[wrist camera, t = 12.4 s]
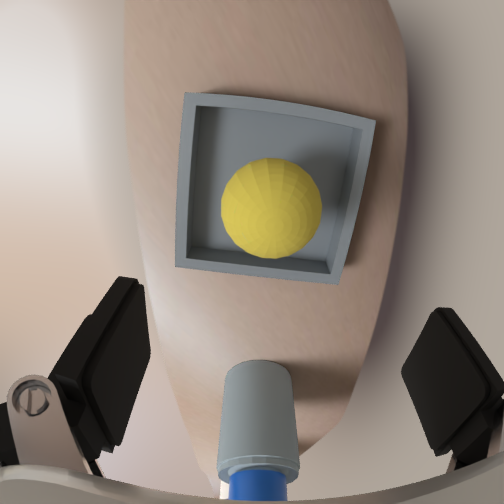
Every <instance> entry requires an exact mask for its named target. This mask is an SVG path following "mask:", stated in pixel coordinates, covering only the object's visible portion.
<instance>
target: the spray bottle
mask: <svg viewBox="0 0 504 504" xmlns="http://www.w3.org/2000/svg"><path fill="white" fill-rule="evenodd" d="M299 469H300V462H299V450H298V439H297V429H296V419H295V409H294V399H293V389H292V380H291V376H290V374H289V372H288V371H287V370H286V369H285V368H284V367H283V366H281V365H279V364H277V363H275V362H271V361H266V360H251V361H247V362H242V363H240V364H238V365H236V366H234V367H233V368H232V369H231V370H230V371H228V373H227V375H226V378H225V386H224V396H223V406H222V416H221V427H220V437H219V448H218V458H217V470H218V476H219V478H220V479H221V480H222V481H223V482H225V483H228V484H229V497H228V500H242V501H287V485H286V484H288V483H291V482H293V481H294V480H295V479H296V478H297V477H298V473H299V472H298V471H299Z"/></svg>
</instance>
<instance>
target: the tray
mask: <svg viewBox="0 0 504 504" xmlns="http://www.w3.org/2000/svg"><path fill="white" fill-rule="evenodd" d="M375 123H376V121H375V120H371V119H368V118H364V117H360V116H356V115H351V114H347V113H343V112H338V111H334V110H329V109H324V108H319V107H313V106H308V105H302V104H297V103H290V102H284V101H277V100H270V99H262V98H254V97H245V96H234V95H222V94H208V93H186V92H185V94H184V103H183V113H182V123H181V135H180V148H179V162H178V178H177V199H176V229H175V267H180V268H188V269H197V270H205V271H213V272H222V273H230V274H239V275H248V276H257V277H266V278H276V279H285V280H295V281H305V282H315V283H325V284H336V285H338V284H339V280H340V277H341V274H342V270H343V267H344V263H345V259H346V256H347V252H348V248H349V245H350V241H351V237H352V233H353V229H354V225H355V221H356V217H357V213H358V208H359V204H360V200H361V195H362V191H363V186H364V182H365V177H366V172H367V167H368V162H369V157H370V152H371V146H372V141H373V135H374V129H375ZM263 158H280V159H284V160H287V161H289V162H292V163H294V164H297V165H298V166H300V167H301V168H302V169H303V170H304V171H305V172H307V173H308V174H309V175H310V176H311V178H312V179H313V181H314V183H315V184H316V186H317V188H318V190H319V193H320V198H321V202H322V212H321V220H320V224H319V226H318V229H317V231H316V233H315V235H314V237H313V238H312V239H311V240H310V241H309V242H308V243H307V244H306V245H305V246H304V247H303V248H302V249H300V250H299V251H297V252H295V253H293V254H292V255H289V256H285V257H281V258H277V259H274V258H261V257H258V256H255V255H252V254H249V253H247V252H246V251H245V250H243V249H242V248H240V247H239V246H238V245H236V244H235V243H234V241H233V240H232V239H231V237H230V236H229V234H228V233H227V232H226V229H225V226H224V223H223V220H222V217H221V198H222V195H223V193H224V190H225V187H226V184H227V183H228V181H229V180H230V179H231V178H232V176H233V175H234V174H235V173H236V171H237V170H239V169H240V168H242V167H243V166H245V165H246V164H248V163H250V162H252V161H255V160H259V159H263Z"/></svg>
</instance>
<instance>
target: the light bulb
mask: <svg viewBox="0 0 504 504" xmlns="http://www.w3.org/2000/svg"><path fill="white" fill-rule="evenodd" d="M321 212H322V202H321V198H320V193H319V190H318V188H317V186H316V184H315V183H314V181H313V179H312V178H311V176H310V175H309V174H308V173H307V172H305V171H304V170H303V169H302V168H301V167H300V166H298V165H297V164H294V163H292V162H289V161H287V160H284V159H280V158H263V159H259V160H255V161H252V162H250V163H248V164H246V165H245V166H243V167H242V168H240V169H239V170H237V171H236V173H235V174H234V175H233V176H232V178H231V179H230V180H229V181H228V183H227V184H226V187H225V190H224V193H223V195H222V198H221V217H222V220H223V223H224V226H225V229H226V232H227V233H228V234H229V236H230V237H231V239H232V240H233V241H234V243H235V244H236V245H238V246H239V247H240V248H242V249H243V250H245V251H246V252H247V253H249V254H252V255H255V256H258V257H261V258H274V259H277V258H281V257H285V256H289V255H292V254H293V253H295V252H297V251H299V250H300V249H302V248H303V247H304V246H305V245H306V244H307V243H308V242H309V241H310V240H311V239H312V238H313V237H314V235H315V233H316V231H317V229H318V226H319V224H320V220H321Z"/></svg>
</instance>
